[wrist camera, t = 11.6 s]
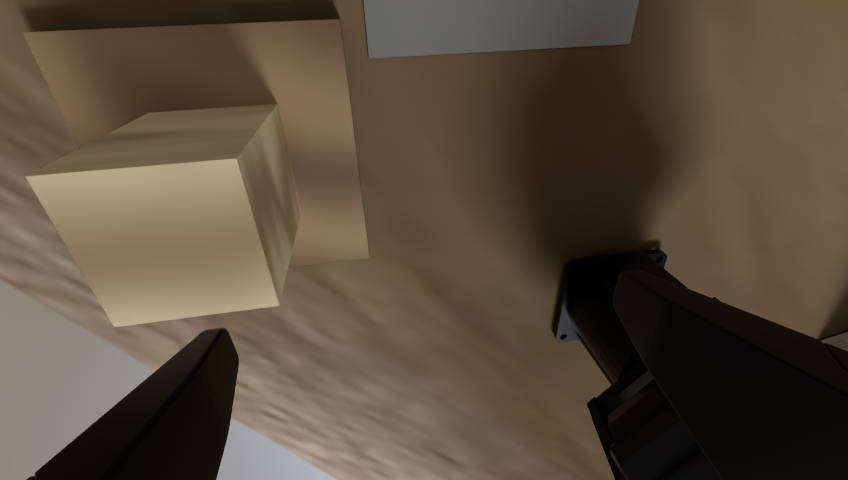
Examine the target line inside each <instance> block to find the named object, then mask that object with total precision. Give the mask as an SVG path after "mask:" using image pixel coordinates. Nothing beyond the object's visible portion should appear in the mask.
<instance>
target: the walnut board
mask: <svg viewBox="0 0 848 480" xmlns="http://www.w3.org/2000/svg"><path fill="white" fill-rule="evenodd" d="M22 33H23V35H24V37H25V39H26V41H27V44H28V46H29V48H30V50H31V52H32V54H33V56H34V58H35V60H36V62H37V64H38V66H39V68H40V70H41V72H42V74H43V76H44V78H45V80H46V82H47V84H48V86H49V88H50V90H51V92H52V94H53V96H54V98H55V100H56V102H57V104H58V106H59V108H60V110H61V112H62V114H63V116H64V119H65V121H66V123H67V125H68V127H69V129H70V131H71V133H72V135H73V137H74V139H75V141H76V143H77V145H78V147H79V148H81V147H83V146H85V145H87V144H89V143H91V142H93V141H95V140H97V139H99V138H101V137H103V136H105V135H107V134H108V133H110V132H112V131H114V130H116V129H118V128H120V127H122V126H124V125H126V124H128V123H130V122H132V121H134V120H136V119H137V118H139V117H141V116H143V115H145V114H147V113H153V112H168V111H182V110H196V109H210V108H225V107H239V106H253V105H267V104H278V107H279V112H280V117H281V121H282V126H283V130H284V135H285V139H286V144H287V148H288V153H289V158H290V162H291V167H292V171H293V176H294V180H295V185H296V189H297V194H298V199H299V203H300V208H301V216H300V220H299V224H298V228H297V233H296V237H295V241H294V245H293V250H292V254H291V258H290V262H289V267H295V266H304V265H312V264H321V263H330V262H338V261H347V260H355V259H364V258H369V247H368V239H367V231H366V223H365V215H364V207H363V199H362V191H361V183H360V175H359V167H358V159H357V151H356V143H355V135H354V127H353V119H352V111H351V103H350V95H349V87H348V79H347V71H346V63H345V55H344V47H343V39H342V30H341V22H340V19H321V20H297V21H274V22H250V23H226V24H202V25H178V26H154V27H130V28H107V29H83V30H59V31H36V32H22Z"/></svg>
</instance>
